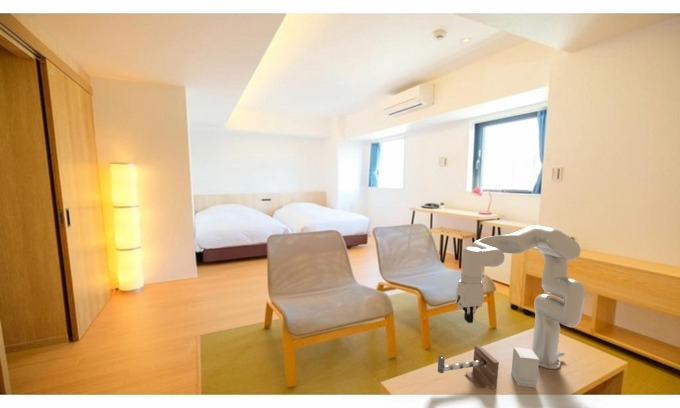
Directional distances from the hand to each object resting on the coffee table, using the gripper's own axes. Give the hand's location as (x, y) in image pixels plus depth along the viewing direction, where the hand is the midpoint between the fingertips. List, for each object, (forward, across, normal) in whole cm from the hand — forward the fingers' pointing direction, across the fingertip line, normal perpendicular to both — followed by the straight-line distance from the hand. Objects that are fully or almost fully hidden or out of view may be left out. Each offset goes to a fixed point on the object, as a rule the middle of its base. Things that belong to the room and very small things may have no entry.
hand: (468, 321), depth 119 cm
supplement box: (+28, -25, +4) cm, 38 cm away
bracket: (+27, -7, 0) cm, 28 cm away
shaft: (+20, +3, 0) cm, 20 cm away
